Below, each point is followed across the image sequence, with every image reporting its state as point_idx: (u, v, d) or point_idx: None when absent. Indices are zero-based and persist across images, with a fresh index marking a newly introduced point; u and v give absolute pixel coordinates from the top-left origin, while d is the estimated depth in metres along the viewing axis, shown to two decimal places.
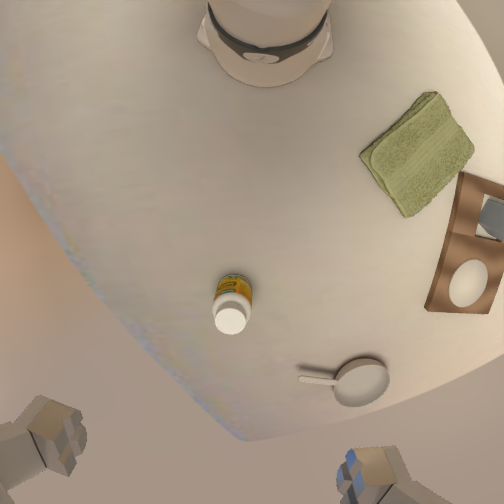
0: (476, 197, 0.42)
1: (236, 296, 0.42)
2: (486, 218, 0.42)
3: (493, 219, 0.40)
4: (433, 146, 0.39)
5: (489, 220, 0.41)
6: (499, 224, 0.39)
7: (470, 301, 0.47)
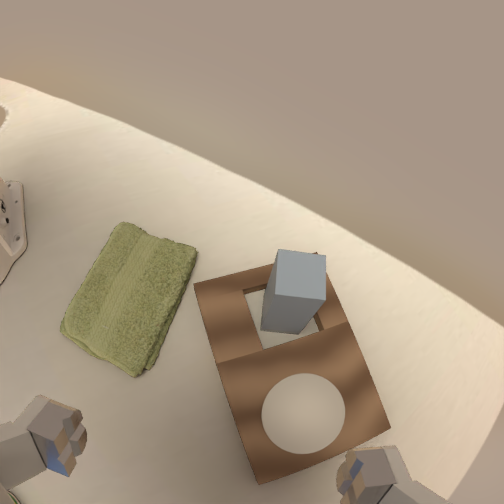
0: (231, 301, 0.36)
1: None
2: (263, 315, 0.35)
3: (265, 307, 0.34)
4: (129, 276, 0.36)
5: (264, 313, 0.34)
6: (268, 303, 0.32)
7: (330, 434, 0.29)
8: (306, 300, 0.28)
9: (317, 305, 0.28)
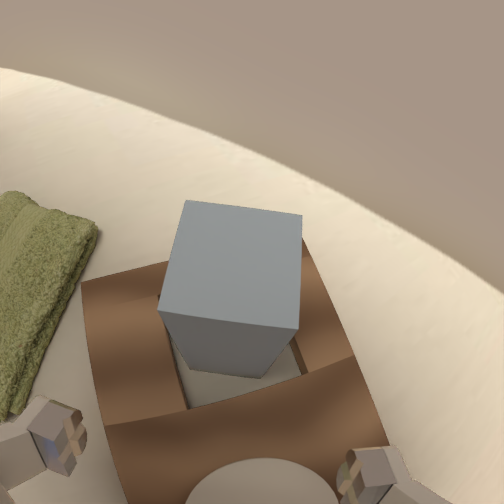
0: (135, 315, 0.19)
1: None
2: None
3: None
4: None
5: None
6: None
7: None
8: (246, 328, 0.10)
9: (279, 339, 0.11)
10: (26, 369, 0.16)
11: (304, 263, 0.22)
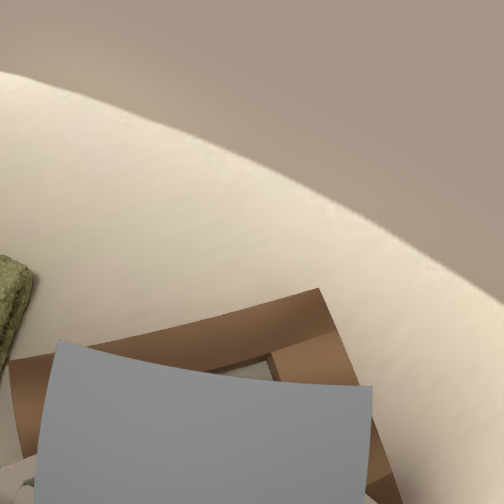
0: None
1: None
2: None
3: None
4: None
5: None
6: None
7: None
8: None
9: None
10: None
11: (327, 343, 0.14)
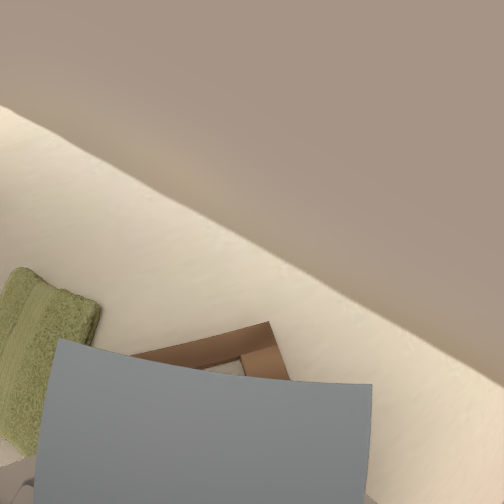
0: None
1: None
2: None
3: None
4: (20, 341, 0.23)
5: None
6: None
7: None
8: None
9: None
10: None
11: (271, 351, 0.26)
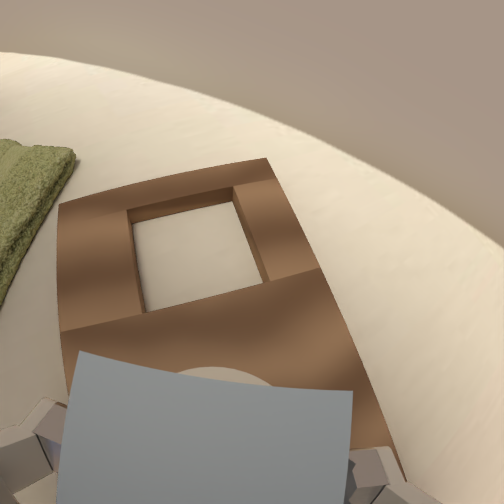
0: (104, 228, 0.19)
1: None
2: None
3: None
4: None
5: None
6: None
7: None
8: None
9: None
10: (1, 275, 0.17)
11: (270, 184, 0.22)
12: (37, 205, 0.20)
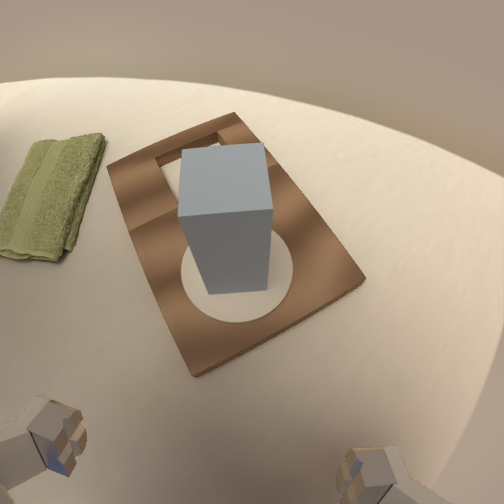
0: (143, 170, 0.31)
1: None
2: None
3: None
4: (44, 174, 0.31)
5: None
6: None
7: (277, 289, 0.25)
8: (238, 217, 0.15)
9: (264, 225, 0.16)
10: (74, 216, 0.30)
11: (239, 125, 0.34)
12: (89, 170, 0.32)
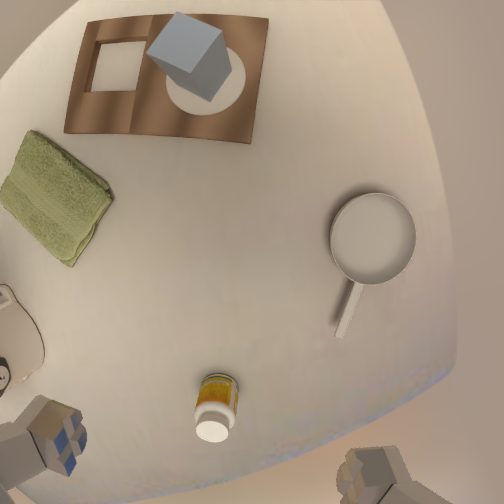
0: (88, 104, 0.33)
1: (195, 414, 0.36)
2: (198, 93, 0.30)
3: (192, 87, 0.28)
4: (35, 191, 0.34)
5: (197, 91, 0.29)
6: (191, 84, 0.26)
7: (236, 65, 0.31)
8: (211, 47, 0.21)
9: (221, 40, 0.22)
10: (86, 172, 0.35)
11: (103, 23, 0.30)
12: (55, 149, 0.34)
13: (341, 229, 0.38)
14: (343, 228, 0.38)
